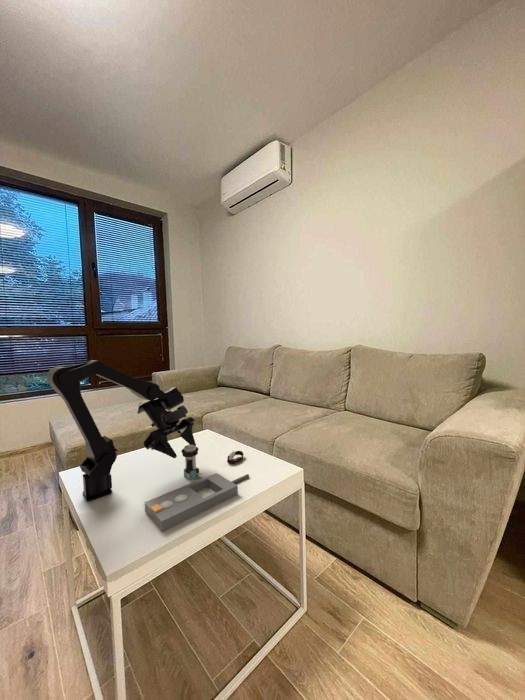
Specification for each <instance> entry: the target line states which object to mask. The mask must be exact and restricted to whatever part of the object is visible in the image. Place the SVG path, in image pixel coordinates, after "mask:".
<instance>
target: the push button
mask: <svg viewBox="0 0 525 700" xmlns="http://www.w3.org/2000/svg"><path fill="white" fill-rule="evenodd" d="M181 453H182V457H184V458H185V468H184V469H183V477H184V478H186V479H189V480H190V479H193V480H196V479H197V478H199V479H202V478H203V476H202V473H200V468H198V467H197V462H196V461H197V460H196V459H197V456H198V454H199V447H198V446H197V445H196V446H195V445H190V444H186V445H185V446H184V448H182V449H181Z"/></svg>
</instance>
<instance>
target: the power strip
mask: <svg viewBox="0 0 525 700" xmlns="http://www.w3.org/2000/svg"><path fill="white" fill-rule="evenodd" d="M248 478H250V474H248V473H247V474H245V475H242V476H240V477H239V478H236V479H234V480H229V479H227V478H226V477H224V476H222V475H221V474H219V473H217V472H214V473H213V474H211V475H208V476H205V477H202V478H199V479H197V480H195V481H193V482H191V483H188V484H186V485H183V486H181V487H179V488H176V489H174V490H171V491H168V492H166V493H164V494H161V495H159V496H156V497H154V498H152V499H149V500H147V501H144V512H145V513H146V514H147V516H148V517H149V518H150V519H151V520H152V522H153V523H154V524H155V526H157V527H158V529H159V530H160V531H161V532H162V533H163V532H165V531H167V530H168V529H170V528H173V527H175V526H177V525H178V524H180V523H183V522H185V521H187V520H188V519H191V518H193V517H195V516H197V515H199V514H201V513H203V512H205V511H207V510H209V509H210V508H213V507H215V506H217V505H219V504H222V503H224V502H225V501H227V500H230V499H231V498H233V497H235V496H237V495H239V488H238V486H239V485H238V484H237V483H239V482H242V481H244V480H246V479H248ZM207 488H208V489H210V490H212V492H214V493H212V494H210V495H207V496H205V497H203V496H202V495H200V494H199V493H198V492H200V491H203V490H204V489H207Z"/></svg>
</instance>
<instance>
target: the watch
mask: <svg viewBox="0 0 525 700" xmlns="http://www.w3.org/2000/svg"><path fill="white" fill-rule="evenodd" d="M235 456H241V457H238V458H237V459H234V457H235ZM243 458H244V452H243V451H242V450H236V451H234V450H232V451H230V452H229V454H228V456H227V460H226V462H227V463H228V464H229V465H236V464H238V463H240V462H242V460H244V459H243Z"/></svg>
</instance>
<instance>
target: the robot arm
mask: <svg viewBox="0 0 525 700" xmlns="http://www.w3.org/2000/svg"><path fill="white" fill-rule="evenodd" d="M93 376H98V377H99V378H102V379H105V380H107V381H109V382H112V383H113V384H117V385H119V386H121V387H123V388H126V389H127V390H129V392H131V393H132V394H133V395H135V396H137V397H138V398H139V399H143V400H147V401H146V402H139V403H138V408H137V414H141V413H143V412H144V413H145V414H146V416H147V417H148V418H149V419H150V421H151V422H152V423H151V424H150V425H151V427H152V428H156V429H155V430H152V431H150V433H149V434H148V435H147V436H146V437H145V438H144V440H143V446H144V448H145V449H146V450H149V449H151V450H152V451H153V450H154V451H157V452H159V453H162V454H164V455H166V456H169V457H170V458H173V459H176V458H177V457H178V455H177V453H176V452H175V450H174V448H173V446H171V444H170V442H169V441H168V437H169V436H170V435H173V434H174V433H178V434H180V435H179V436H180V437H181V438H182V440H184V441H185V442H186V443H187V444H188V445H195V446H196V447H197V444H196V440H195V437H194V435H193V426H194V424H195V422H196V420H195V419H194V418H193V417H192V416H188V417H187V414H188V413H189V412H188V409H187V407H186V406H184V404H183V403H184V401H185V400H184V399H185V398H184V395H182V392H181V391H180V390H178V387H176V386H172V387H171V388H169V389H168V390H166V391H165V390H164V391H163V390H161V387H160V386H159V385H158V384H157V383H154V382H151V381H147V380H143V379H139V378H135V377H134V376H131V375H129V374H127V373H125V372H123V371H120V370H118V369H116V368H114V367H113V366H110V365H108V364H105V363H104V362H102V361H101V360H96V359H95V360H94V359H91V360H89V361H87V362H82V363H79V364H75V365H74V364H73V365H69V366H55V367H53V368H51V369H50V370H49V371H48V372H47V374H46V381H47V383H48V385H49V386H50V387H51V389H53V390H54V392H55V393H56V394H57V395H58V396H60V398H61V399H62V400H63V401H64V403H65V405H66V407H67V409H68V411H69V413H70V414H71V416H72V418H73V420H74V423H75V425H76V427H77V428H78V430H79V432H80V434H81V436H82V438H83V440H84V442H85V450H86V454H87V457H86V458H85V459H84V460H83V461H82V463H81V464H80V465H79V469H80V470H81V472H82V473H84V474H82V481H83V482H82V484H83V486H82V487H83V491H82V495H83V497H84V499H85V501H86V502H91V501H94V500H96V499H99V498H101V497H104V496H107V495H110V494H112V492H113V491H112V488H113V483H112V481H113V480H112V474H111V472H112V467H113V465H114V463H115V461H116V459H117V457H118V455H117V452H118V449H117V448H116V447H115V445H114V441H113V439H112V438H110V437H108V436H107V435H103V436H102V433H101V432H100V430H99V428H98V426H97V424H96V422H95V420H94V418H93V416H92V414H91V412H90V410H89V408H88V406H87V404H86V402H85V400H84V398H83V395H82V389H81V383H80V381H81V382H82V381H83V380H84V381H85V380H86V379H89V378H91V377H93ZM181 404H183V405H181ZM178 406H179V407H178ZM175 408H176V410H173V411H172V409H175Z"/></svg>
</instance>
